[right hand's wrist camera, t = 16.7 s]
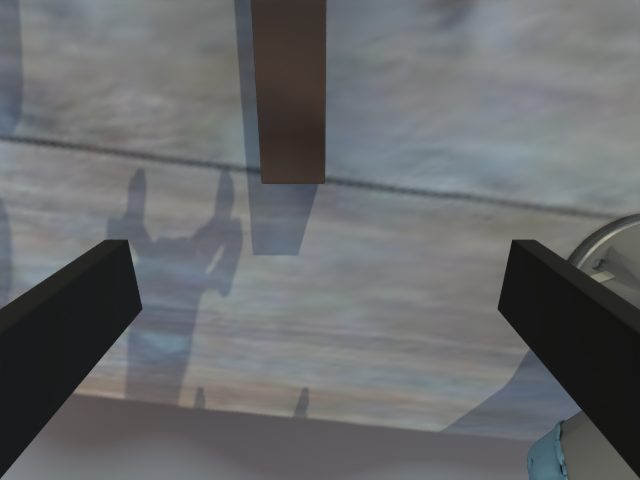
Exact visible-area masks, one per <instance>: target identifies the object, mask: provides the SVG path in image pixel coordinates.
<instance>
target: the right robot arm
mask: <svg viewBox="0 0 640 480" xmlns="http://www.w3.org/2000/svg"><path fill="white" fill-rule="evenodd" d="M141 310H142V304H141V300H140V295H139V290H138V286H137V281H136V276H135V272H134V267H133V262H132V258H131V253H130V248H129V243H128V240H104V241H103V242H101V243H100V244H98V245H97V246H95V247H94V248H92V249H91V250H89V251H87V252H86V253H84V254H83V255H81V256H80V257H78V258H77V259H75V260H74V261H72V262H71V263H69V264H68V265H66V266H65V267H63V268H62V269H60V270H59V271H57V272H56V273H54V274H53V275H51V276H50V277H48V278H47V279H45V280H44V281H42V282H41V283H39V284H38V285H36V286H35V287H33V288H32V289H30V290H29V291H27V292H26V293H24V294H23V295H21V296H20V297H18V298H17V299H15V300H14V301H12V302H11V303H9V304H8V305H6V306H5V307H3V308H2V309H0V479H1V477H2V476H3V475H4V474H5V473H6V471H7V470H8V469H9V468H10V467H11V465H12V464H13V463H14V462H15V461H16V459H17V458H18V457H19V456H20V455H21V453H22V452H23V451H24V450H25V449H26V447H27V446H28V445H29V444H30V443H31V442H32V440H33V439H34V438H35V437H36V436H37V434H38V433H39V432H40V431H41V430H42V428H43V427H44V426H45V425H46V424H47V422H48V421H49V420H50V419H51V418H52V416H53V415H54V414H55V413H56V412H57V410H58V409H59V408H60V407H61V406H62V405H63V403H64V402H65V401H66V400H67V399H68V397H69V396H70V395H71V394H72V393H73V391H74V390H75V389H76V388H77V387H78V385H79V384H80V383H81V382H82V381H83V379H84V378H85V377H86V376H87V375H88V373H89V372H90V371H91V370H92V369H93V367H94V366H95V365H96V364H97V363H98V362H99V360H100V359H101V358H102V357H103V356H104V354H105V353H106V352H107V351H108V350H109V348H110V347H111V346H112V345H113V344H114V342H115V341H116V340H117V339H118V338H119V336H120V335H121V334H122V333H123V332H124V330H125V329H126V328H127V327H128V326H129V325H130V323H131V322H132V321H133V320H134V319H135V317H136V316H137V315H138V314H139V313H140V311H141ZM498 310H499V311H500V313H501V314H502V315H503V316H504V317H505V319H506V320H507V321H508V322H509V323H510V325H511V326H512V327H513V328H514V329H515V330H516V332H517V333H518V334H519V335H520V336H521V338H522V339H523V340H524V341H525V342H526V344H527V345H528V346H529V347H530V348H531V350H532V351H533V352H534V353H535V354H536V356H537V357H538V358H539V359H540V360H541V362H542V363H543V364H544V365H545V366H546V367H547V369H548V370H549V371H550V372H551V373H552V375H553V376H554V377H555V378H556V379H557V381H558V382H559V383H560V384H561V385H562V387H563V388H564V389H565V390H566V391H567V393H568V394H569V395H570V396H571V397H572V399H573V400H574V401H575V402H576V403H577V405H578V406H579V407H580V408H581V409H582V411H580V412H579V413H577V414H576V415H574V416H573V417H571V418H570V419H568V420H566V421H564V420H562V421H560V422H558V423H557V424H556V427H555V429H553V430H552V431H551V432H549V433H548V434H546V435H545V436H544V437H542V438H541V439H540V440H538V441H537V442H536V443H534V444H533V445H532V447H531V448H530V450H529V453H528V457H527V468H528V473H529V479H530V480H640V214H635V215H631V216H627V217H624V218H622V219H619V220H616V221H614V222H612V223H610V224H608V225H606V226H604V227H603V228H601V229H600V230H598V231H597V232H595V233H594V234H593V235H591V236H590V237H589V238H588V239H587V240H585V241H584V242H583V243H582V244H581V245H580V246H579V248H578V249H577V250H576V251H575V252H574V254H573V255H572V256H571V258H570V260H569V261H566V260H565V259H563V258H562V257H560V256H559V255H557V254H556V253H554V252H553V251H551V250H549V249H548V248H546V247H545V246H543V245H542V244H540V243H539V242H537V241H536V240H512V243H511V248H510V253H509V257H508V262H507V267H506V272H505V276H504V281H503V286H502V290H501V295H500V300H499V304H498Z"/></svg>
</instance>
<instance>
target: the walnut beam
mask: <svg viewBox="0 0 640 480" xmlns="http://www.w3.org/2000/svg"><path fill="white" fill-rule="evenodd" d="M251 10H252V27H253V44H254V61H255V78H256V94H257V111H258V128H259V145H260V162H261V179H262V183H263V184H324V183H325V121H326V0H251Z"/></svg>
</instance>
